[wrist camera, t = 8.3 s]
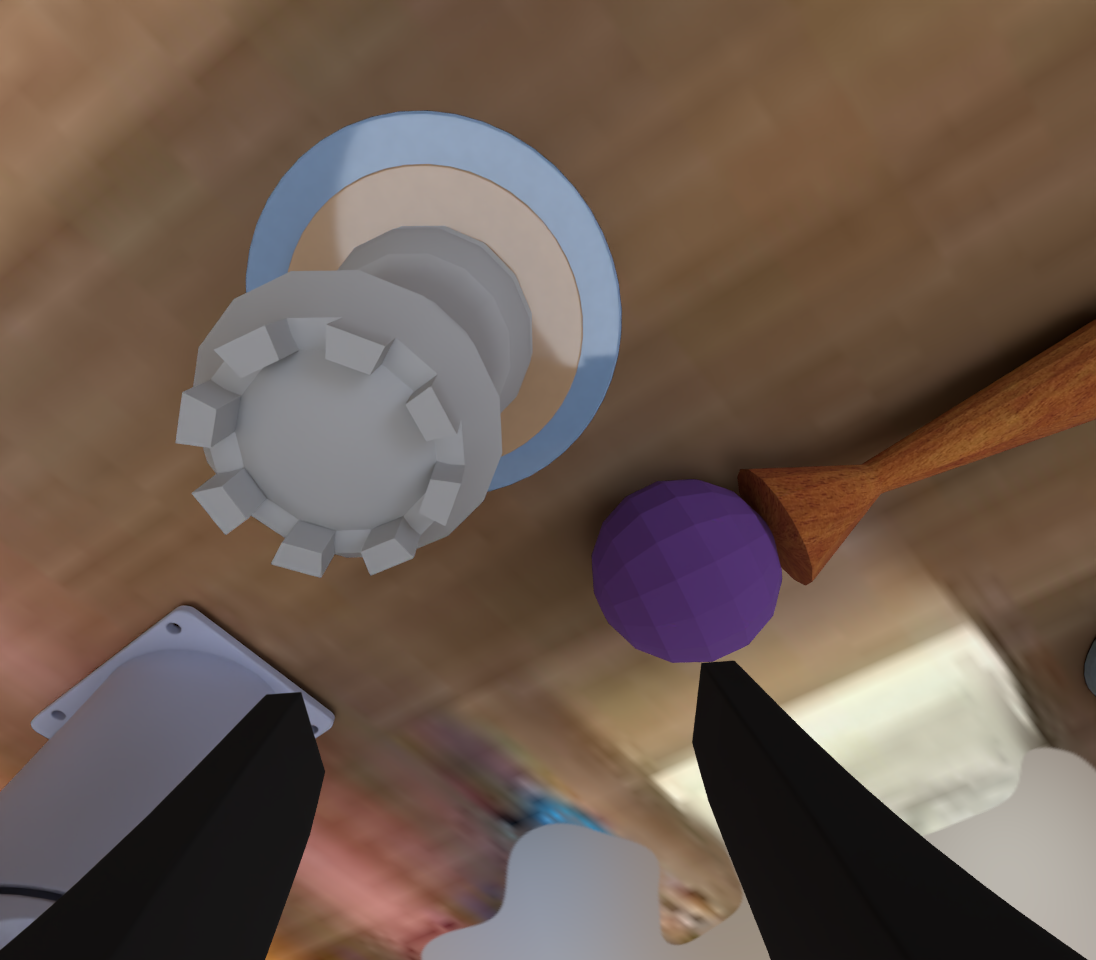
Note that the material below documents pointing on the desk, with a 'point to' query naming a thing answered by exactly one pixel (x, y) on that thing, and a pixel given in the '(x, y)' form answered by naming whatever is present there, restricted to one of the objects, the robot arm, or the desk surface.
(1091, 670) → the grey textured cup
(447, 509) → the rook chess piece
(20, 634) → the desk surface
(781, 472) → the kendama
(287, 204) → the short blue cylinder
